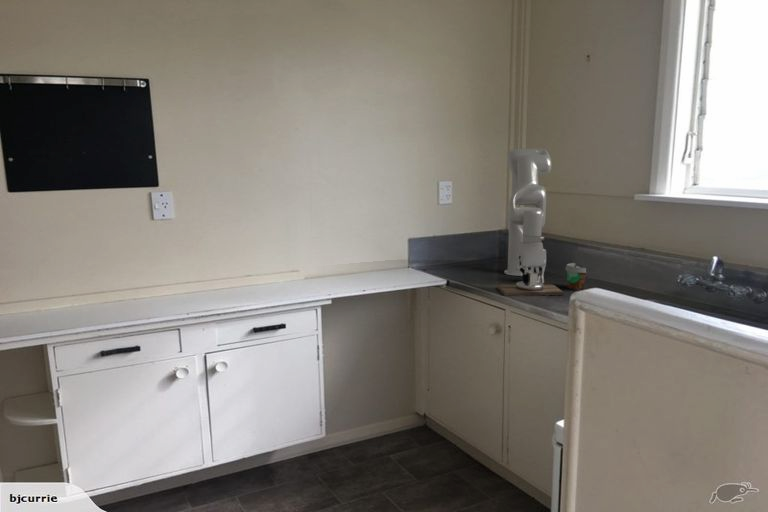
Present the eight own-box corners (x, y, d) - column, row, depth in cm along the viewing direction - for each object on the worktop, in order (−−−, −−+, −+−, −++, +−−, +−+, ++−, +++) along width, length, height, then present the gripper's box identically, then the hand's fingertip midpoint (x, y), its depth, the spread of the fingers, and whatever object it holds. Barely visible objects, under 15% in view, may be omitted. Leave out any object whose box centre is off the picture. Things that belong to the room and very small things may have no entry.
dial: (512, 285, 260) (513, 269, 259) (537, 284, 261) (538, 269, 260) (521, 290, 249) (521, 274, 248) (547, 290, 250) (548, 274, 249)
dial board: (497, 287, 263) (497, 284, 262) (553, 287, 263) (553, 284, 263) (504, 295, 248) (504, 291, 248) (563, 295, 248) (563, 291, 248)
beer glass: (545, 284, 270) (547, 251, 267) (529, 283, 271) (530, 250, 269) (544, 281, 277) (546, 248, 274) (528, 280, 278) (530, 248, 275)
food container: (560, 285, 268) (561, 263, 266) (573, 285, 268) (574, 262, 267) (570, 291, 256) (572, 268, 254) (585, 291, 256) (586, 268, 255)
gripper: (546, 237, 257) (544, 280, 260) (509, 238, 254) (507, 282, 257) (554, 240, 250) (552, 284, 253) (516, 241, 247) (515, 285, 250)
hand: (529, 282), depth 255 cm, fingers closed on dial, 3 cm apart
